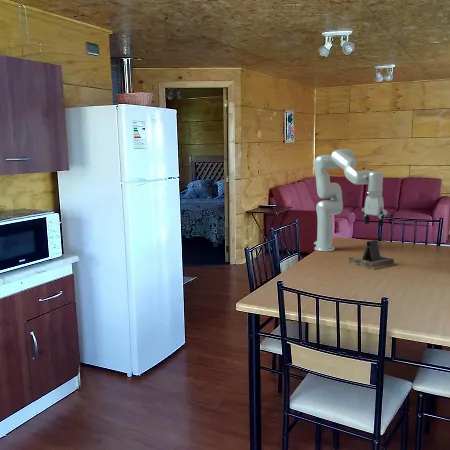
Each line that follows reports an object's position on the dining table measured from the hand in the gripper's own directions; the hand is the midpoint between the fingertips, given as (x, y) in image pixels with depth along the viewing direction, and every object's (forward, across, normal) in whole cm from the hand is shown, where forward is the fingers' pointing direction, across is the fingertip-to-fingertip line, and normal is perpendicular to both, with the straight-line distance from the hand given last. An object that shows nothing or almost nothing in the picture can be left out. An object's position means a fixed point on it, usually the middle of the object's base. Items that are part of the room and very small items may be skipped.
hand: (373, 224), depth 263 cm
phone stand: (+21, -1, 0) cm, 21 cm away
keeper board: (+22, 0, 0) cm, 22 cm away
